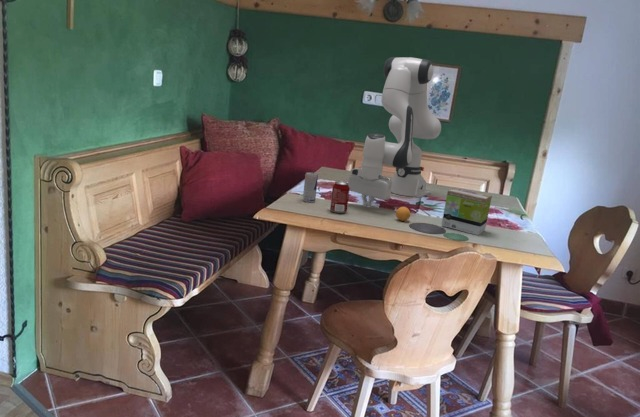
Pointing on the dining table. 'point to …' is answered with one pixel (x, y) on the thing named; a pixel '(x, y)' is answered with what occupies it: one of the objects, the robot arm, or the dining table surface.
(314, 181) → the energy drink
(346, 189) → the soda can
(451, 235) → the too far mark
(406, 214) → the ball
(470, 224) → the tea box
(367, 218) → the dining table surface
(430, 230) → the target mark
